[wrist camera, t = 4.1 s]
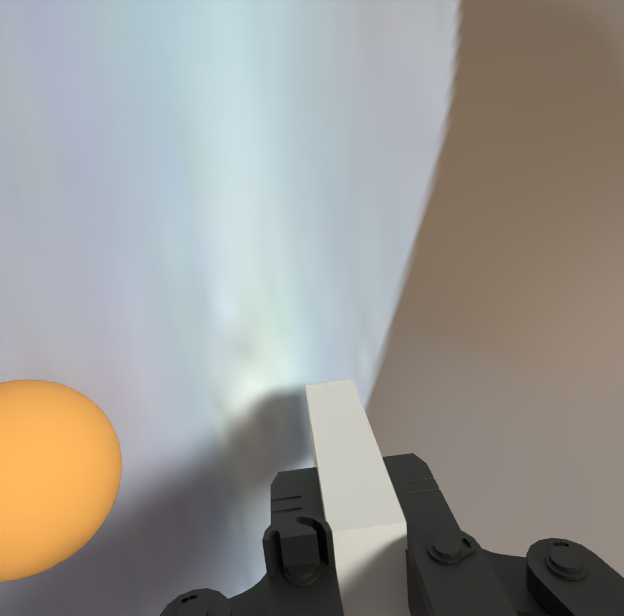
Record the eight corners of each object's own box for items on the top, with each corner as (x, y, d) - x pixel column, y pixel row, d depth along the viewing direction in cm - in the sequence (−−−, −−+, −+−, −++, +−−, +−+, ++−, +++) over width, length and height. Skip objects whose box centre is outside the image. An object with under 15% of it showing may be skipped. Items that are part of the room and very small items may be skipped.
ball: (84, 521, 19) (11, 664, 13) (-58, 441, 17) (-201, 564, 12) (172, 413, 18) (131, 520, 12) (29, 319, 16) (-84, 396, 11)
